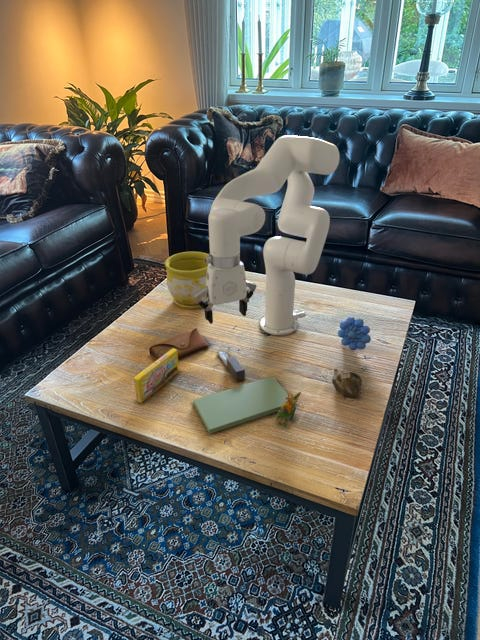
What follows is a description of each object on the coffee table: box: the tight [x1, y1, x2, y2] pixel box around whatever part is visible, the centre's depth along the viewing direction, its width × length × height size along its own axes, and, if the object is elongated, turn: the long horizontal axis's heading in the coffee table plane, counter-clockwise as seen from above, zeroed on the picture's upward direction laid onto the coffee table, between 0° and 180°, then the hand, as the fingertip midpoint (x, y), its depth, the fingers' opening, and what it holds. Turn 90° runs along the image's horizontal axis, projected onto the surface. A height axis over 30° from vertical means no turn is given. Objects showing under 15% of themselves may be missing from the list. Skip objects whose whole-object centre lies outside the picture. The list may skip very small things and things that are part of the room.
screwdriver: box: [218, 350, 246, 383], centre depth 131 cm, size 15×3×4 cm, turn 24°
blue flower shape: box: [337, 316, 372, 352], centre depth 136 cm, size 12×7×12 cm, turn 40°
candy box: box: [133, 348, 180, 404], centre depth 122 cm, size 16×2×8 cm, turn 148°
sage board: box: [192, 375, 291, 435], centre depth 117 cm, size 24×12×2 cm, turn 114°
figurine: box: [275, 391, 302, 428], centre depth 111 cm, size 3×12×8 cm, turn 144°
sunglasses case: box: [148, 327, 211, 362], centre depth 139 cm, size 18×7×7 cm, turn 130°
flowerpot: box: [164, 251, 210, 310], centre depth 162 cm, size 18×18×16 cm
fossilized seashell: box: [331, 368, 363, 398], centre depth 122 cm, size 8×7×10 cm
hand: (226, 317), depth 120 cm, fingers open, 9 cm apart
